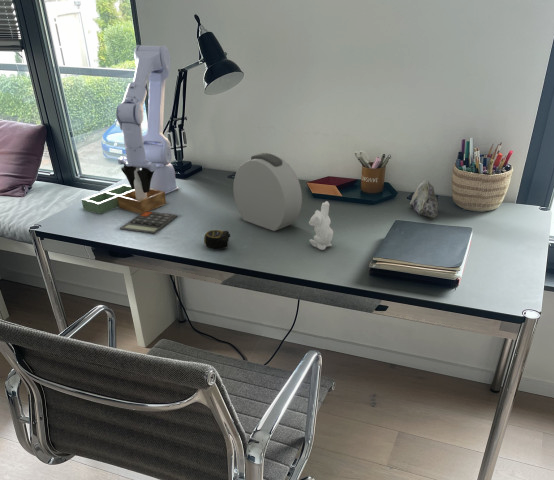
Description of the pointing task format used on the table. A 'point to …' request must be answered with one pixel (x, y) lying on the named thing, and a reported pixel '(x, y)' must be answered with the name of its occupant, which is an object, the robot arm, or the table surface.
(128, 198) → the open wooden box
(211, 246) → the tape measure
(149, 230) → the calculator
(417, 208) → the mineral rock
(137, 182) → the eye dropper bottle
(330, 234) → the white bunny figurine
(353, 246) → the table surface
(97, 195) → the green divided tray
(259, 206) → the alarm clock
